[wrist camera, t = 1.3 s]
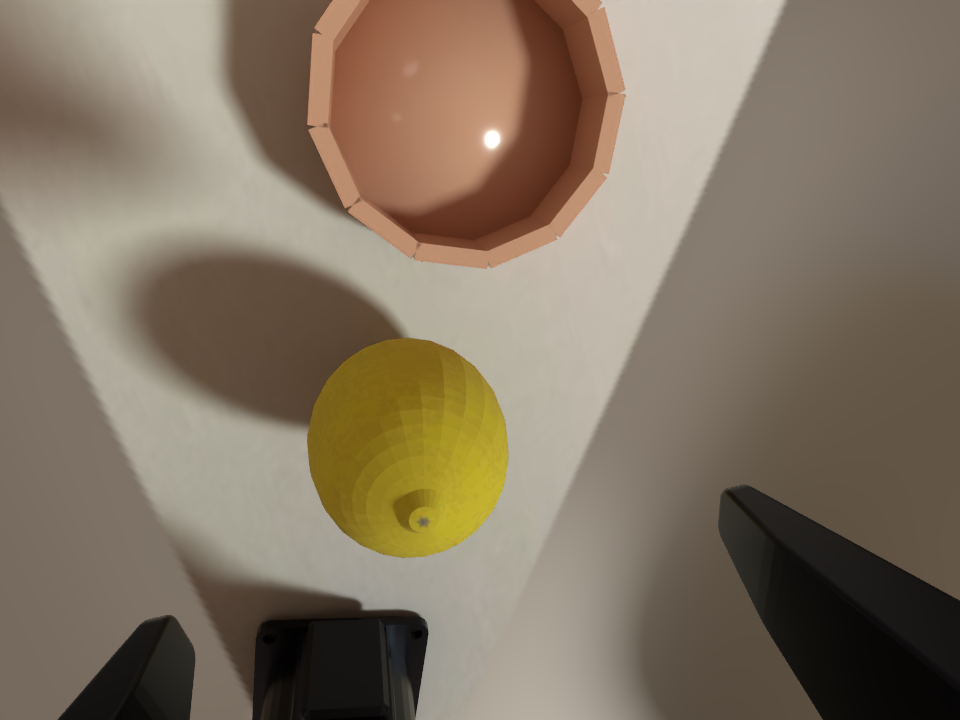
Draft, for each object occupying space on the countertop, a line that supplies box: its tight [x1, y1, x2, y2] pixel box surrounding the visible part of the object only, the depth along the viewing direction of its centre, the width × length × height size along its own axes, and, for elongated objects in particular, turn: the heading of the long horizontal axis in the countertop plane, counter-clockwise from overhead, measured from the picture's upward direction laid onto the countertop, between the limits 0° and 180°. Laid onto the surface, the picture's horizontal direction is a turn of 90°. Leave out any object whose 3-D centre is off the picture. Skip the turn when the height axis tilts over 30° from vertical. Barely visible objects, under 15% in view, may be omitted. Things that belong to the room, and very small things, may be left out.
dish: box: [307, 0, 625, 269], centre depth 17 cm, size 8×8×2 cm
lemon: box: [307, 338, 508, 558], centre depth 17 cm, size 6×6×8 cm
